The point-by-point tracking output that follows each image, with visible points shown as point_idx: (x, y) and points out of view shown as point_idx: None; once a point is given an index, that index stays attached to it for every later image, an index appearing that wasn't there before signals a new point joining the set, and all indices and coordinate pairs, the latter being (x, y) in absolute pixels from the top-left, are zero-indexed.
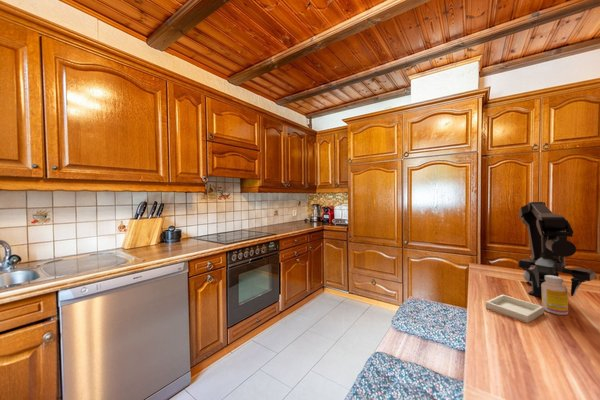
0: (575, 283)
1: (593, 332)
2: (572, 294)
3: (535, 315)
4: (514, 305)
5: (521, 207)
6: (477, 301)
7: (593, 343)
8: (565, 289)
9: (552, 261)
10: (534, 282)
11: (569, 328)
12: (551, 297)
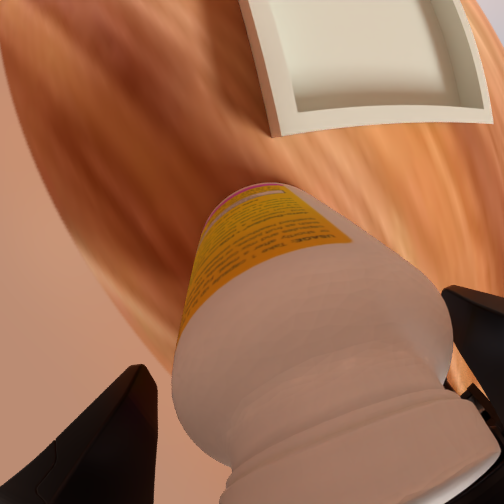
0: (12, 496)
1: (37, 163)
2: (122, 375)
3: (243, 3)
4: (404, 76)
5: None
6: (471, 9)
7: (5, 63)
8: (176, 407)
9: None
10: (497, 299)
11: (91, 80)
12: (265, 214)
